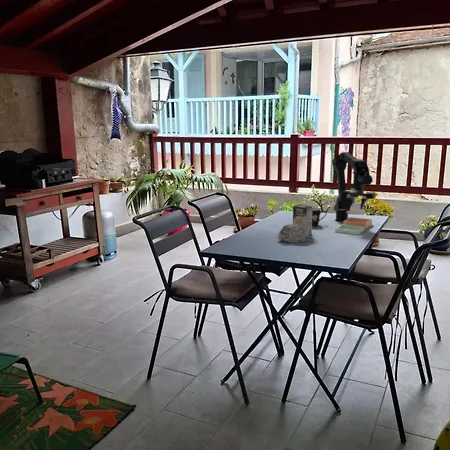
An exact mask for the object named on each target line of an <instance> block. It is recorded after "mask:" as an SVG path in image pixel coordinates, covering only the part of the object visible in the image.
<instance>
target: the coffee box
mask: <svg viewBox="0 0 450 450" xmlns="http://www.w3.org/2000/svg"><path fill="white" fill-rule="evenodd" d="M312 208H314V207H313V206H312V205H304V204H297V205H293V207H292V225H293V224H294V225H301V226H307V227H308V228H307V230H306V236H305V238H306V237H309V236H310V235H312V234H313V232H312V231H313V227H312Z"/></svg>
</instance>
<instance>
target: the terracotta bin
mask: <svg viewBox="0 0 450 450" xmlns="http://www.w3.org/2000/svg"><path fill="white" fill-rule="evenodd" d="M343 224H345V225H355V226H364V227H365V230H368V229H369V228H371V226H373V218H366V217H365V218H363V217H354V216H351V217H348V219H346V220H345V221H344V222H343Z"/></svg>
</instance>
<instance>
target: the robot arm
mask: <svg viewBox="0 0 450 450" xmlns="http://www.w3.org/2000/svg"><path fill="white" fill-rule="evenodd" d="M331 164H332V167H333V169H334V171H335V173H336V180H337V181H336V184H337V193H338V196H337V198H336V200H335V201H336V202H335V205H334V206H333V211H334V212H335V219H334V221H336V222H343V223H344V221H345V220H346V219H348V218H349V213H348V212H350V211H351V209H352V203H354V202H355V198H359V197H362V198H361V210H362V211H363V208H364V207H365V204H366V202H367V200H374V199H376V197H377V195H376V194H377V193H375V192H371V191H369V192H367V193H366V192H365V191H364V186H369V185H371V184H372V182H373V181H374V180H373V177H372V175H371V174H370V168H369V166H368V163H367V161H366V160H364V159H362V158H361V159H359V158H358V157H356V156H354V155H353V154H351V153H350V152H349V151H345V152H343V151H342V152H340V153H339V154H338V155H335V156H334V158H332V161H331ZM347 164H349V165H350V166H351V169H352V170H353V171H352V175H353V183H352V187H351V188H350V190H347V186H346V174H345V171H346V169H347V166H348V165H347Z"/></svg>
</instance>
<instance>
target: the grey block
mask: <svg viewBox="0 0 450 450" xmlns="http://www.w3.org/2000/svg"><path fill="white" fill-rule="evenodd" d="M361 202H362V201H361ZM361 202H360V201H354V203H352V206H351V211H352V212H358V213H359V212H362V211H363V209H362V210H361Z"/></svg>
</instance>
